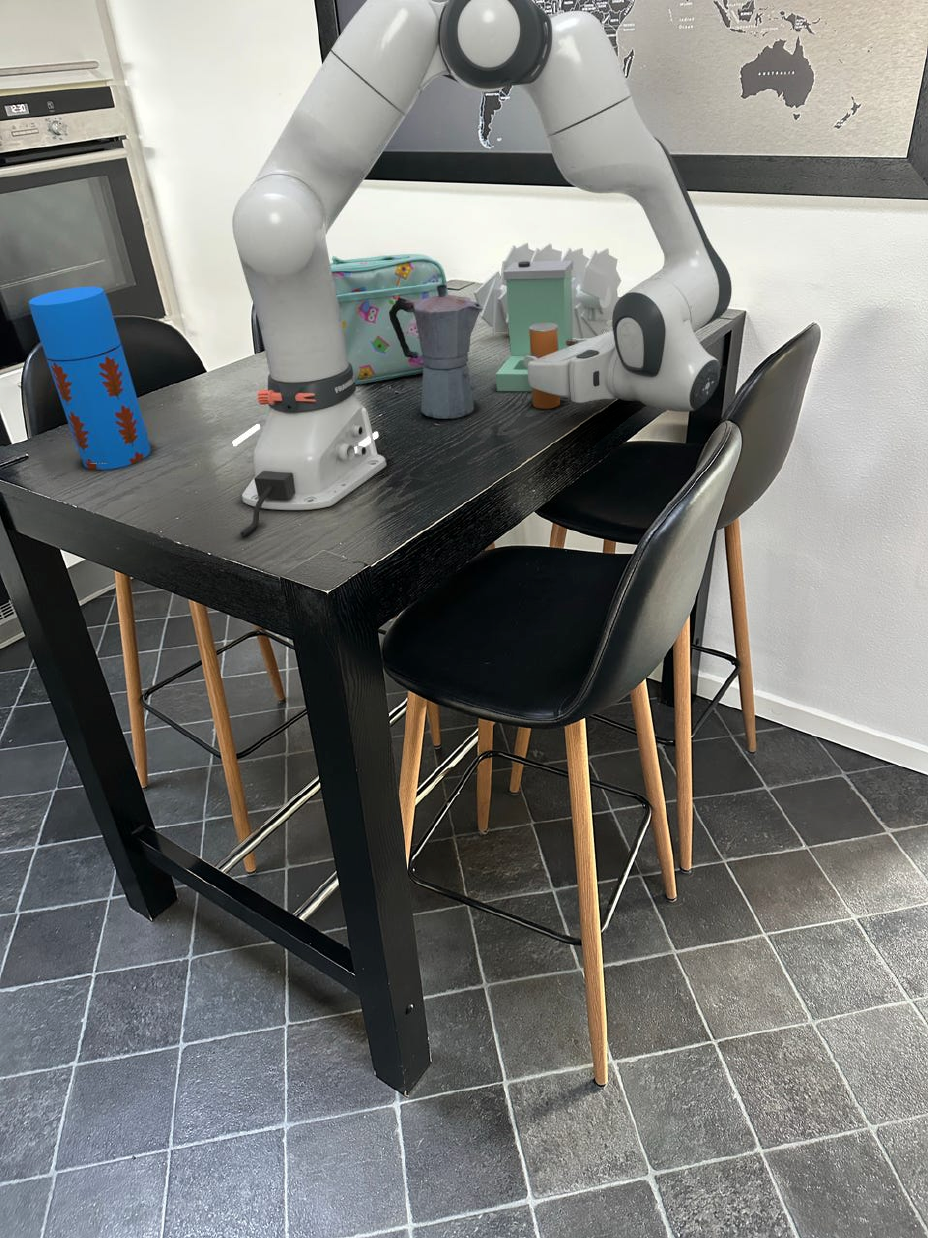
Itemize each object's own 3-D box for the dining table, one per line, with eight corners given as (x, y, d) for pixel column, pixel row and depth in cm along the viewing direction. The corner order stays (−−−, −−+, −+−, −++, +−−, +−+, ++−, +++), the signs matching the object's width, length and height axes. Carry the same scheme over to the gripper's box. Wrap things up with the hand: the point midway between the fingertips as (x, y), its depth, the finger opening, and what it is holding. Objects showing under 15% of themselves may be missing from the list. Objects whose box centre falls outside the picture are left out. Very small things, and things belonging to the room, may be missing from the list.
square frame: (553, 391, 153) (553, 374, 151) (496, 391, 156) (495, 373, 154) (566, 372, 161) (565, 355, 159) (511, 372, 163) (510, 355, 162)
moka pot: (486, 420, 144) (475, 290, 133) (392, 422, 147) (375, 294, 136) (496, 400, 152) (487, 275, 141) (407, 401, 155) (392, 279, 144)
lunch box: (314, 394, 163) (291, 269, 152) (310, 377, 172) (288, 258, 160) (459, 371, 166) (447, 248, 155) (448, 356, 175) (436, 238, 164)
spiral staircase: (517, 347, 190) (621, 355, 175) (464, 330, 176) (572, 337, 161) (532, 255, 186) (639, 255, 172) (479, 231, 173) (590, 229, 158)
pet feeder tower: (567, 372, 160) (564, 265, 151) (509, 372, 164) (503, 267, 154) (575, 360, 166) (573, 256, 156) (519, 360, 169) (513, 258, 159)
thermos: (112, 474, 139) (58, 307, 126) (68, 464, 144) (11, 303, 131) (165, 448, 146) (120, 287, 133) (121, 440, 152) (74, 284, 138)
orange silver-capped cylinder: (557, 409, 146) (554, 330, 139) (530, 408, 147) (526, 330, 140) (562, 399, 149) (560, 322, 142) (536, 399, 150) (532, 322, 144)
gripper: (661, 327, 137) (592, 315, 146) (569, 363, 126) (501, 348, 136) (660, 368, 141) (592, 354, 150) (571, 407, 130) (503, 389, 139)
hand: (548, 351), depth 143 cm, fingers open, 8 cm apart
